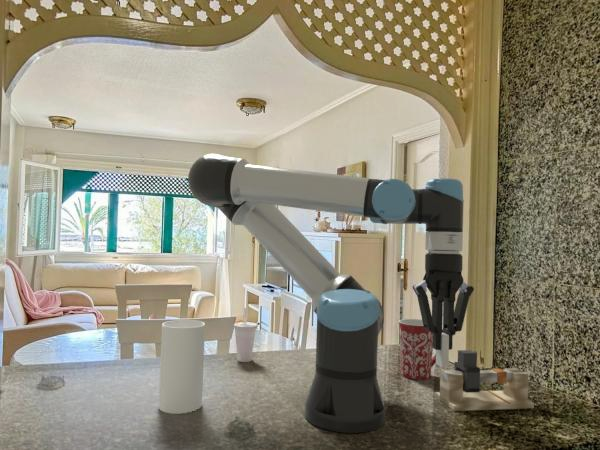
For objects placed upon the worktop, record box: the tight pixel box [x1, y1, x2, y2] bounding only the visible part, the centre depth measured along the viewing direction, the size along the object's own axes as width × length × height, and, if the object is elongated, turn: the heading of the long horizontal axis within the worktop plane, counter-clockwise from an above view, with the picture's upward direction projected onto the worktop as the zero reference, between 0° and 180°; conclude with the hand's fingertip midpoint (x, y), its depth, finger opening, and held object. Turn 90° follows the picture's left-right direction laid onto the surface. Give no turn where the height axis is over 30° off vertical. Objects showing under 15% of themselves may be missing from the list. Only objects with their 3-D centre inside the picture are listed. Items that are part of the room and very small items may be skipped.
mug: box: [398, 318, 444, 381], centre depth 114 cm, size 13×9×14 cm
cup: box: [158, 319, 206, 415], centre depth 88 cm, size 8×8×16 cm
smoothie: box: [233, 307, 258, 363], centre depth 122 cm, size 6×6×14 cm
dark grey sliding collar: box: [453, 349, 481, 392], centre depth 95 cm, size 3×5×8 cm, turn 10°
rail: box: [434, 367, 535, 412], centre depth 96 cm, size 18×8×7 cm, turn 100°
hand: (442, 365), depth 94 cm, fingers closed
